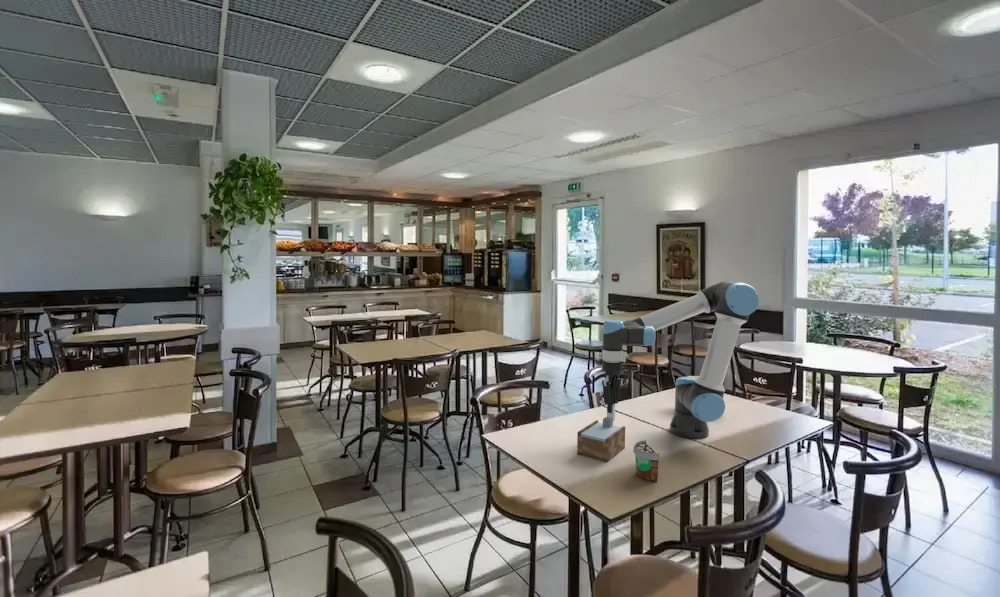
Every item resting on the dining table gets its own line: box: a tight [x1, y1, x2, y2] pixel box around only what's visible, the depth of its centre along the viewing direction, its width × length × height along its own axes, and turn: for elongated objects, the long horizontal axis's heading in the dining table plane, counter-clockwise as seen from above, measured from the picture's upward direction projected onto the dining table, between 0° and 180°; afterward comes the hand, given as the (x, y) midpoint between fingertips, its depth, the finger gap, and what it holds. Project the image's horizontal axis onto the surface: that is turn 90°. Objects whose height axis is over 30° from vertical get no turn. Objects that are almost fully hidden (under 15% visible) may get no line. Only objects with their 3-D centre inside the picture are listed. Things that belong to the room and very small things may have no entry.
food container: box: [632, 439, 661, 483], centre depth 164 cm, size 12×6×10 cm, turn 5°
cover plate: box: [581, 416, 622, 442], centre depth 184 cm, size 15×10×4 cm, turn 144°
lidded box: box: [576, 419, 626, 463], centre depth 184 cm, size 16×12×8 cm
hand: (610, 420), depth 191 cm, fingers closed
